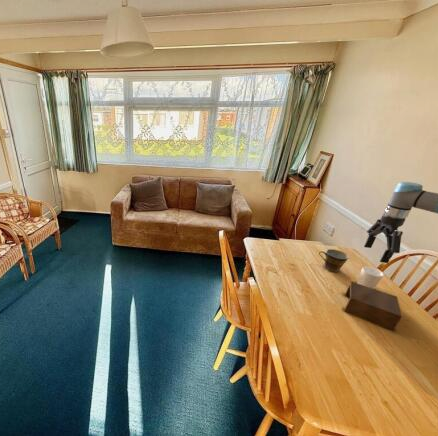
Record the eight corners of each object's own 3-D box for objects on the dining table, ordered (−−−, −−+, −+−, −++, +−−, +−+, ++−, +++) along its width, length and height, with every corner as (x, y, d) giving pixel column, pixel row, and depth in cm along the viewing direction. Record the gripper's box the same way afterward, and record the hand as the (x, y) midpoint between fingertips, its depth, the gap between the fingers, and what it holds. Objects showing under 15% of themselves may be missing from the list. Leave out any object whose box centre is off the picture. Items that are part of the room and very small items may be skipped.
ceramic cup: (340, 266, 134) (347, 252, 130) (343, 275, 126) (350, 261, 122) (314, 259, 140) (319, 246, 136) (315, 268, 132) (320, 254, 128)
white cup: (377, 288, 117) (385, 272, 113) (372, 294, 113) (380, 278, 109) (358, 279, 123) (365, 264, 119) (352, 285, 119) (360, 270, 115)
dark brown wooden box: (389, 309, 105) (397, 296, 101) (393, 330, 95) (402, 316, 91) (344, 293, 114) (350, 281, 110) (344, 311, 104) (350, 298, 101)
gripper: (369, 205, 116) (353, 241, 125) (403, 226, 95) (381, 268, 104) (387, 206, 115) (369, 242, 124) (426, 228, 93) (401, 270, 102)
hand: (375, 254), depth 114 cm, fingers open, 13 cm apart
